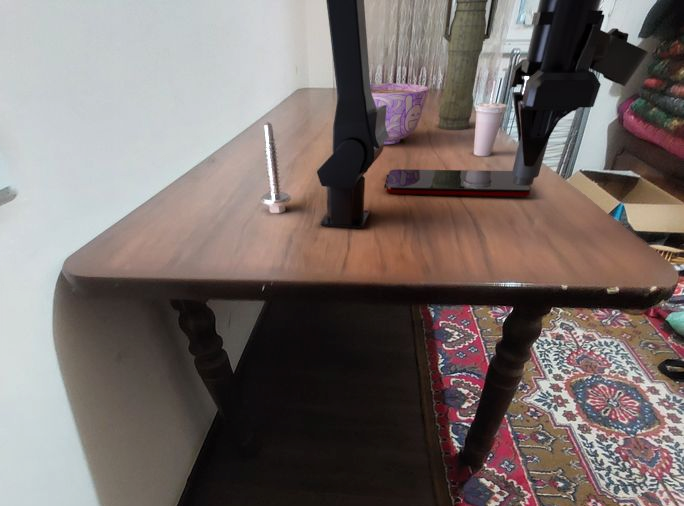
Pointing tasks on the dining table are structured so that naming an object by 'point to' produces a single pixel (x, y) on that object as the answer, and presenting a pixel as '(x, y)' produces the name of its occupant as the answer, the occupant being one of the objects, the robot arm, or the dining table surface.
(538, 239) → the dining table surface
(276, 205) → the screw
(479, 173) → the smartphone
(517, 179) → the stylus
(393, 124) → the bowl of food
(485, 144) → the smoothie
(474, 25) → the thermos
